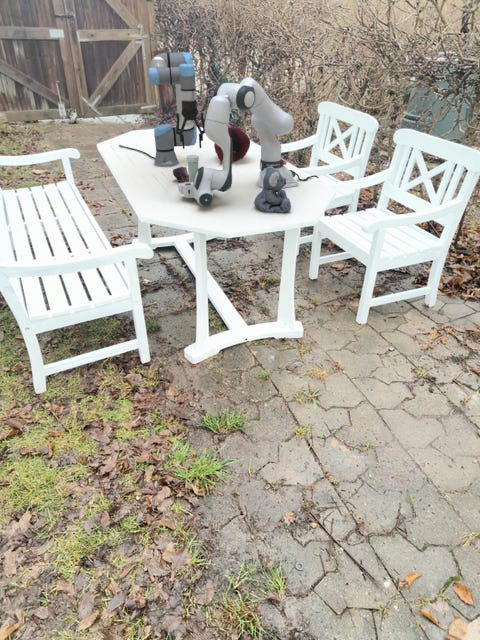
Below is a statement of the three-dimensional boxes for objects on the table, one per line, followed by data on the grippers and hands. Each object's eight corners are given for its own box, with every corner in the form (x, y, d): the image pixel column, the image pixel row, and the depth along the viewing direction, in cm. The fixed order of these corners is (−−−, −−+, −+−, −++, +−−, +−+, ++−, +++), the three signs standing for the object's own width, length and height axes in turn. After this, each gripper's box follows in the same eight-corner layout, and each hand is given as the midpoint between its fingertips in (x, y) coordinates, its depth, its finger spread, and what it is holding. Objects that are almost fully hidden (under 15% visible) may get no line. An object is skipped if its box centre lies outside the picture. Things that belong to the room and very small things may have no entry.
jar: (192, 189, 251) (190, 155, 241) (201, 190, 249) (199, 156, 239) (188, 192, 247) (185, 158, 236) (197, 194, 245) (195, 159, 235)
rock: (186, 179, 270) (170, 181, 266) (185, 164, 266) (169, 166, 262) (194, 181, 261) (178, 183, 256) (192, 166, 257) (176, 168, 253)
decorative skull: (211, 133, 303) (210, 130, 280) (245, 125, 303) (247, 122, 279) (218, 165, 310) (218, 165, 287) (251, 158, 309) (254, 157, 286)
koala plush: (292, 213, 220) (294, 173, 209) (255, 214, 219) (256, 174, 208) (286, 201, 234) (288, 162, 223) (252, 202, 233) (252, 164, 222)
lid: (190, 158, 242) (189, 154, 241) (200, 159, 240) (200, 155, 239) (184, 161, 237) (184, 157, 236) (195, 162, 235) (195, 158, 234)
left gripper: (209, 98, 226) (211, 145, 239) (167, 99, 224) (171, 147, 237) (210, 100, 220) (212, 148, 233) (167, 101, 218) (172, 150, 230)
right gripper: (219, 181, 233) (213, 174, 244) (180, 185, 229) (176, 177, 240) (219, 193, 237) (213, 185, 248) (181, 197, 232) (177, 189, 243)
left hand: (192, 147), depth 235 cm, fingers open, 8 cm apart
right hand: (194, 181), depth 244 cm, fingers open, 8 cm apart
